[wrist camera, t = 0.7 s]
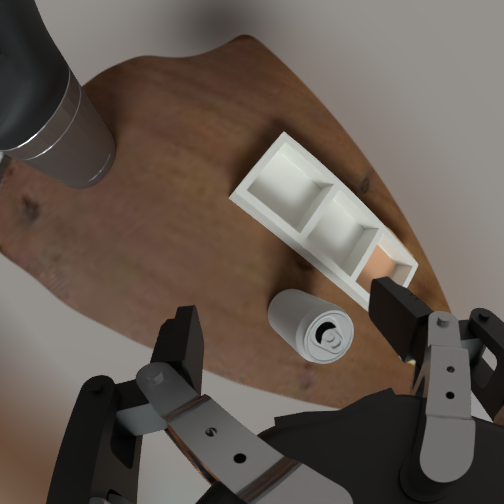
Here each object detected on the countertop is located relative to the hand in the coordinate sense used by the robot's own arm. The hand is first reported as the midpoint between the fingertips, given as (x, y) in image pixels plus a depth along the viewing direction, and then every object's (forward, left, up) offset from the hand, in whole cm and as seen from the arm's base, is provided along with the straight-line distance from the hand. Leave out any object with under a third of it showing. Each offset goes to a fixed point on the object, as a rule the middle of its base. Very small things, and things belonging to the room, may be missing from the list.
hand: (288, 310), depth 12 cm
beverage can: (+11, 0, -24) cm, 26 cm away
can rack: (+9, +12, -23) cm, 28 cm away
